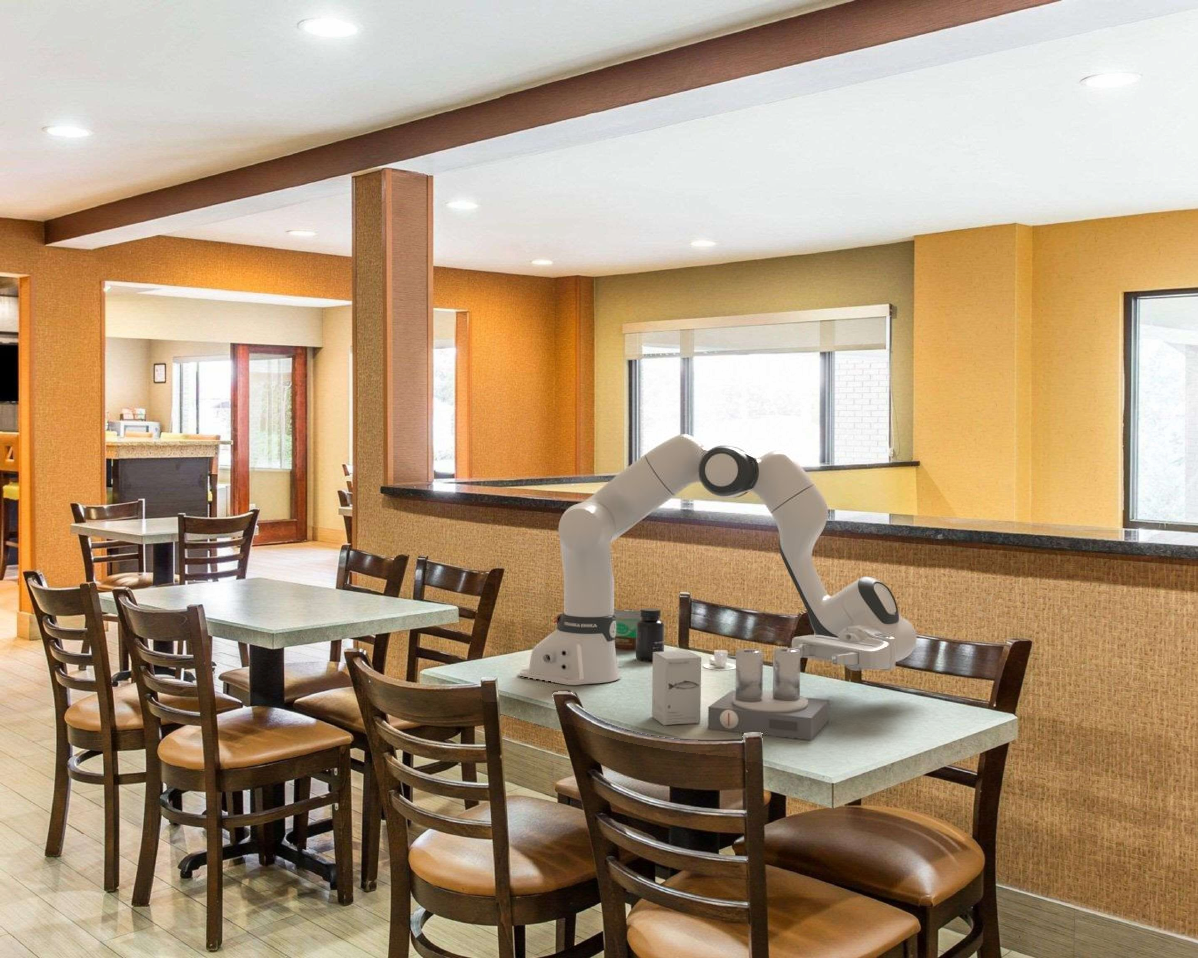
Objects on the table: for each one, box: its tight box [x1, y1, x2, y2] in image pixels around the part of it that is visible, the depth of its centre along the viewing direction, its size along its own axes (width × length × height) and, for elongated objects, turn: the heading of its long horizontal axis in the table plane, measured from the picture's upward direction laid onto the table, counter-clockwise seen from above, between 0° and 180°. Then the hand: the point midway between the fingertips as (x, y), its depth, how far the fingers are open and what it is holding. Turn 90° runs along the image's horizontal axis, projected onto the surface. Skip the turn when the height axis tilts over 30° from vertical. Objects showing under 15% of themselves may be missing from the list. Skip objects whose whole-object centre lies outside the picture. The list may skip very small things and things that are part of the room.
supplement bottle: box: [635, 607, 665, 662], centre depth 271 cm, size 7×7×12 cm
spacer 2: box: [772, 647, 801, 701], centre depth 212 cm, size 5×5×9 cm
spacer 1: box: [734, 648, 764, 702], centre depth 210 cm, size 5×5×9 cm
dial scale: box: [707, 689, 830, 741], centre depth 211 cm, size 19×15×5 cm
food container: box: [614, 608, 641, 651], centre depth 285 cm, size 12×6×10 cm, turn 71°
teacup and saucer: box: [702, 649, 736, 671], centre depth 264 cm, size 9×8×4 cm
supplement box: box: [651, 650, 702, 727], centre depth 214 cm, size 7×7×13 cm
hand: (815, 656), depth 217 cm, fingers open, 8 cm apart
